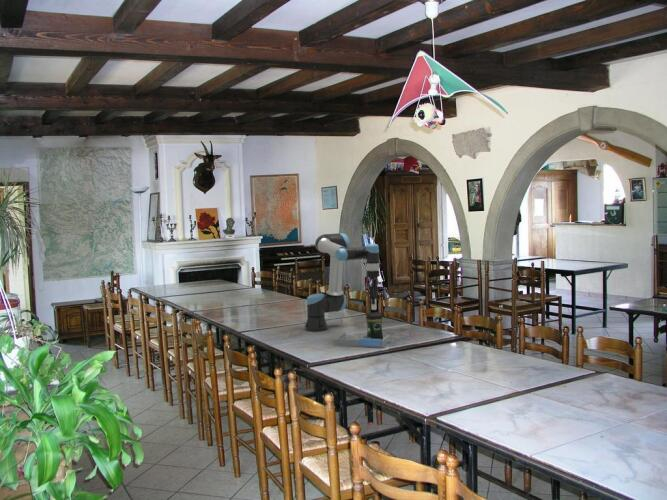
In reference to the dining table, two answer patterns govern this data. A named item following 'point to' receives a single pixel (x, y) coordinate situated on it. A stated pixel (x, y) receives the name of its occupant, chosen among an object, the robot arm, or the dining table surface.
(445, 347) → the dining table surface
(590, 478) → the dining table surface
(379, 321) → the coffee jar
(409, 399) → the dining table surface
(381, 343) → the divided storage rack
